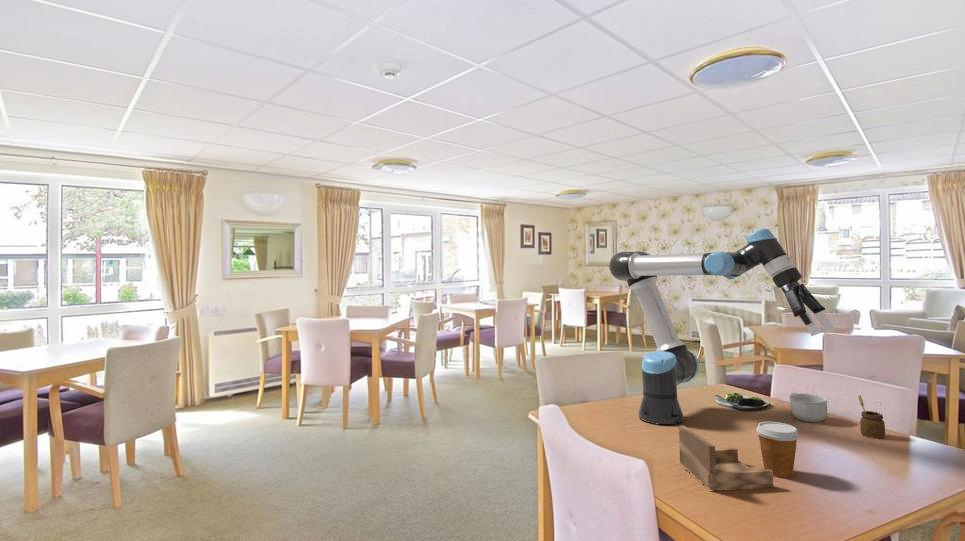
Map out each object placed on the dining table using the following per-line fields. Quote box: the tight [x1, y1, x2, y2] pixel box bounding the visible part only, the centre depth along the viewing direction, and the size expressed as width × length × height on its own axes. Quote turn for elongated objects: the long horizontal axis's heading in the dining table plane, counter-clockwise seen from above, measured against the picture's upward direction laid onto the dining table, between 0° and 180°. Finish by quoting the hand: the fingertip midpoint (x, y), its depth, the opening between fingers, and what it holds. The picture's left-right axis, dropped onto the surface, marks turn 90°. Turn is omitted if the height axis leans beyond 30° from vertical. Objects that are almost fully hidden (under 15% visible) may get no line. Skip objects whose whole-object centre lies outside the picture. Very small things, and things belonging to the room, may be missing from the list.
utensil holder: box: [857, 394, 886, 439], centre depth 145 cm, size 6×6×12 cm
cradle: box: [678, 425, 774, 491], centre depth 120 cm, size 16×15×11 cm
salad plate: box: [713, 392, 771, 412], centre depth 182 cm, size 19×18×5 cm
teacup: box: [789, 392, 828, 423], centre depth 163 cm, size 14×11×8 cm
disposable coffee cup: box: [755, 421, 800, 479], centre depth 121 cm, size 10×10×12 cm
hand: (824, 332), depth 139 cm, fingers open, 13 cm apart
